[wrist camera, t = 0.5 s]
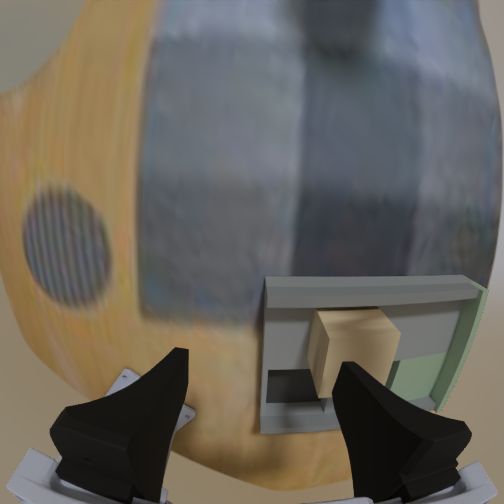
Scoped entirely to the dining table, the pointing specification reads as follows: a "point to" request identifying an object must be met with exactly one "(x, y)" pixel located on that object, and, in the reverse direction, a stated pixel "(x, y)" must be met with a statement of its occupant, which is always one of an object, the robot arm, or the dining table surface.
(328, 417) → the box
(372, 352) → the beech cube
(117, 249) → the dining table surface
